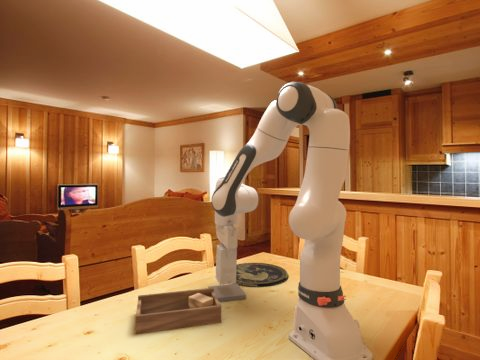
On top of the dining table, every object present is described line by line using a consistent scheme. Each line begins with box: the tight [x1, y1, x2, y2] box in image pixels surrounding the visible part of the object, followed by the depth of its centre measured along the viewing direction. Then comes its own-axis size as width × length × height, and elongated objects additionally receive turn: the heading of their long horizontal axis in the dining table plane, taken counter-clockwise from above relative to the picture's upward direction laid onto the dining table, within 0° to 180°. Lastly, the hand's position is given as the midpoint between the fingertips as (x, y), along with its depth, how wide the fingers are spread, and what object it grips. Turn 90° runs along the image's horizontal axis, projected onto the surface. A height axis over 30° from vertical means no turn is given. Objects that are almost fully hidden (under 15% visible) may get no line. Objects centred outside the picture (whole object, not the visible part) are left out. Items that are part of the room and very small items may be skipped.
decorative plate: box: [235, 262, 289, 288], centre depth 134 cm, size 30×2×30 cm
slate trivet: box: [207, 284, 247, 303], centre depth 111 cm, size 12×12×2 cm
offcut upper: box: [189, 293, 213, 308], centre depth 95 cm, size 7×4×3 cm, turn 50°
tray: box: [135, 287, 222, 335], centre depth 93 cm, size 13×25×6 cm, turn 106°
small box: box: [215, 244, 238, 285], centre depth 111 cm, size 8×6×13 cm
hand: (226, 255), depth 111 cm, fingers closed on small box, 8 cm apart
